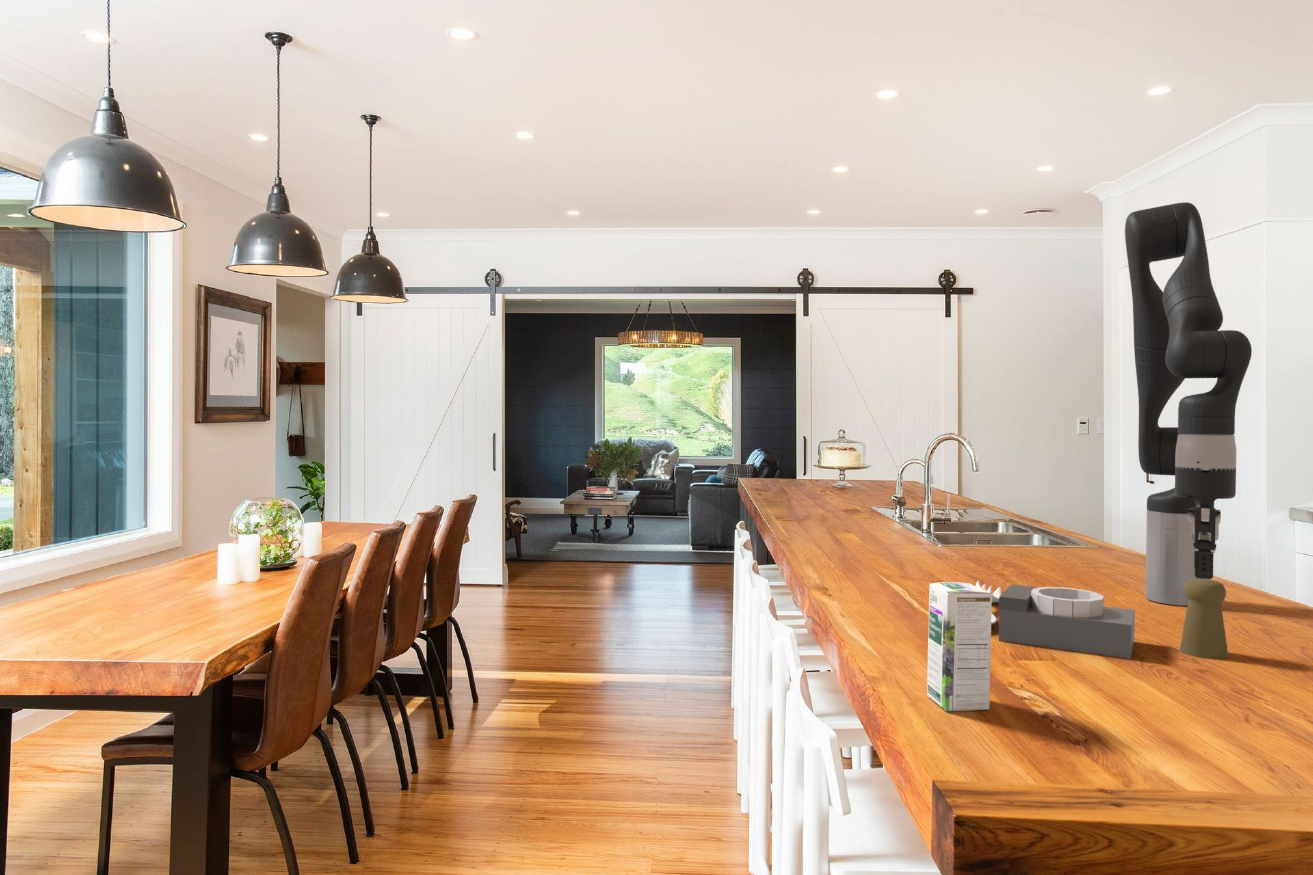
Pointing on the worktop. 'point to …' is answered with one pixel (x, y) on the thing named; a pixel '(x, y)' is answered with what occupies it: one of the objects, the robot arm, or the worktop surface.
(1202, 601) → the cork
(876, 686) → the worktop surface
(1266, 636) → the worktop surface
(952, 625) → the syrup box
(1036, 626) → the camera body
